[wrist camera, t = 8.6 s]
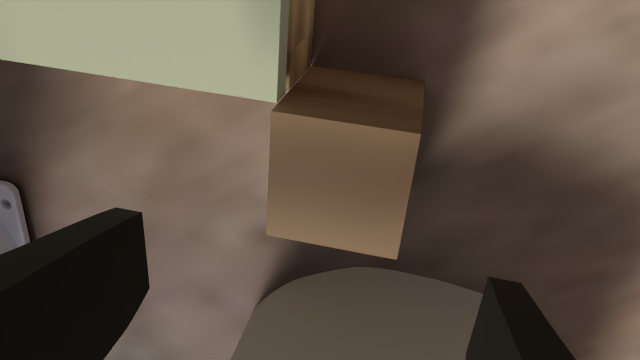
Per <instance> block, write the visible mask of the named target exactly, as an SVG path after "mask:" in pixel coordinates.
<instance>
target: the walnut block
mask: <svg viewBox="0 0 640 360" xmlns="http://www.w3.org/2000/svg"><path fill="white" fill-rule="evenodd" d="M424 90H425V81H418V80H411V79H403V78H396V77H389V76H382V75H375V74H368V73H361V72H353V71H346V70H339V69H332V68H325V67H318V66H311V67H310V68H309V69H308V70H307V71H306V72H305V74H304V75H303V76H302V77H301V78H300V79H299V80H298V82H297V83H296V84H295V85H294V86H293V87H292V88H291V89H290V91H289V92H288V93H287V94H286V95H285V96H284V97H283V99H282V100H281V101H280V102H279V103H278V104H277V105H276V106H275V108H274V109H273V110H272V111H271V132H270V156H269V180H268V203H267V227H266V235H269V236H274V237H279V238H285V239H290V240H295V241H300V242H306V243H311V244H316V245H321V246H327V247H332V248H337V249H342V250H348V251H353V252H358V253H363V254H369V255H374V256H379V257H384V258H389V259H395V260H397V257H398V252H399V247H400V241H401V236H402V231H403V226H404V221H405V216H406V210H407V205H408V200H409V195H410V190H411V184H412V179H413V174H414V169H415V164H416V158H417V153H418V148H419V143H420V138H421V130H422V116H423V103H424Z"/></svg>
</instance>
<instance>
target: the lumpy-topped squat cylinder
mask: <svg viewBox="0 0 640 360" xmlns="http://www.w3.org/2000/svg"><path fill="white" fill-rule="evenodd" d="M482 297H483V294H482V293H479V292H476V291H473V290H470V289H467V288H464V287H460V286H457V285H454V284H451V283H447V282H444V281H440V280H436V279H432V278H428V277H424V276H419V275H415V274H410V273H405V272H400V271H394V270H389V269H382V268H374V267H350V268H343V269H337V270H332V271H327V272H322V273H318V274H314V275H310V276H306V277H303V278H299V279H296V280H294V281H291V282H289V283H287V284H285V285H283V286H281V287H280V288H278V289H277V290H275V291H274V292H272V293H271V294H270V295H268V296H267V297H266V298H265V299H263V300H262V301H261V302H260V303H259V304H258V306H257V307H256V308H255V310H254V311H253V313H252V315H251V317H250V320H249V322H248V324H247V326H246V328H245V330H244V332H243V334H242V336H241V339H240V341H239V343H238V345H237V347H236V349H235V351H234V353H233V356H232V358H231V360H466V351H467V348H468V344H469V341H470V338H471V334H472V331H473V327H474V324H475V320H476V317H477V314H478V310H479V307H480V303H481V300H482Z"/></svg>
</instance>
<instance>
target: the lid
mask: <svg viewBox="0 0 640 360" xmlns="http://www.w3.org/2000/svg"><path fill="white" fill-rule="evenodd" d="M289 2H290V0H0V59H1V60H8V61H14V62H20V63H27V64H33V65H39V66H46V67H52V68H58V69H65V70H71V71H77V72H84V73H90V74H97V75H103V76H109V77H116V78H122V79H128V80H135V81H141V82H147V83H154V84H160V85H166V86H173V87H179V88H185V89H192V90H198V91H205V92H211V93H217V94H224V95H230V96H236V97H243V98H249V99H255V100H262V101H268V102H274V103H277V102H278V101H279V100H280V99H281V98H282V97H283V96H284V95H285V86H286V65H287V44H288V23H289Z"/></svg>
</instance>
